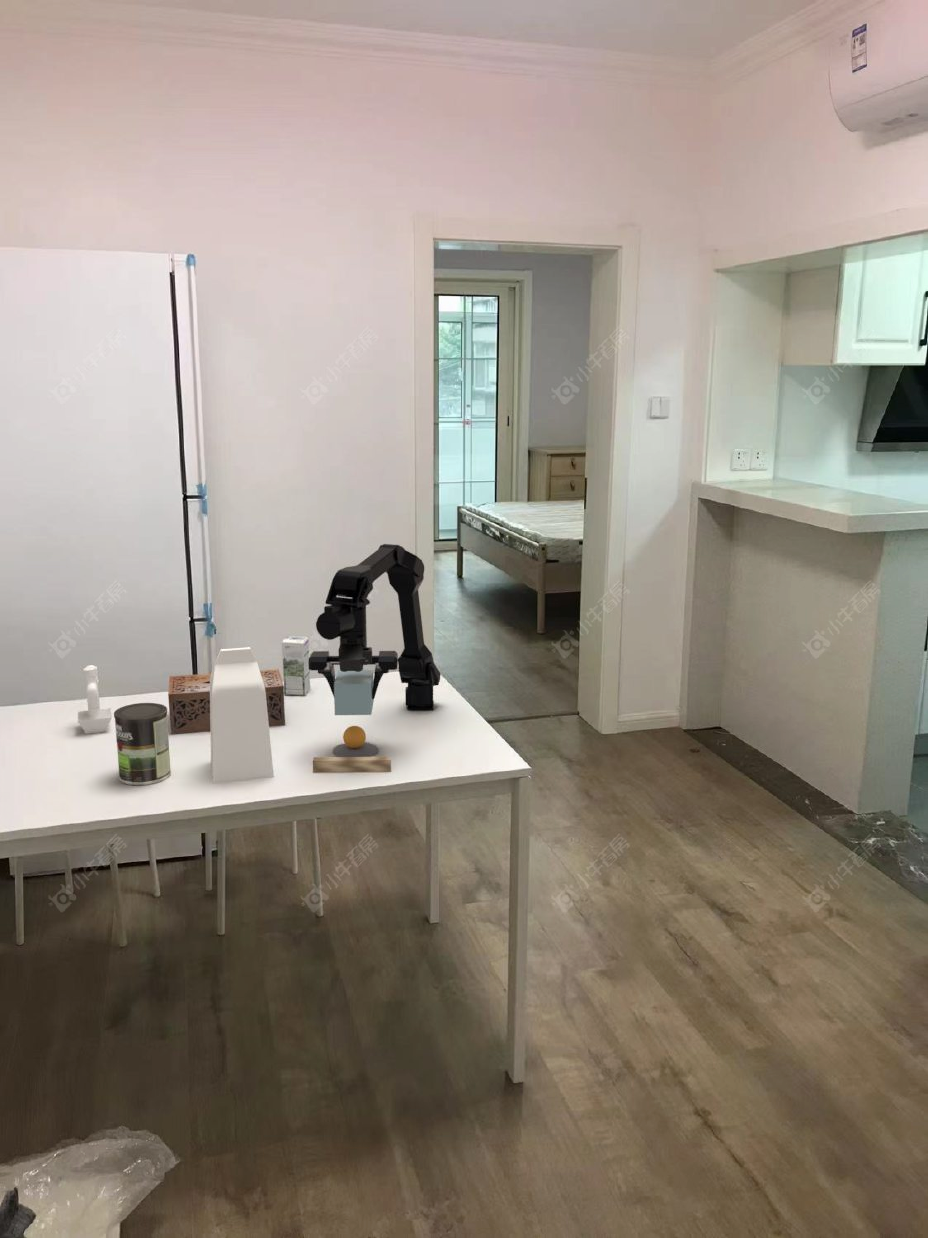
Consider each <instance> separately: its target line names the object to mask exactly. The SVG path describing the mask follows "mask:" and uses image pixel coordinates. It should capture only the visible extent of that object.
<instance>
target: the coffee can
mask: <svg viewBox="0 0 928 1238" xmlns="http://www.w3.org/2000/svg"><path fill="white" fill-rule="evenodd" d="M113 717H114V721H115V722H114V724H115V736H116V748H117V750H116V751H117V762H118V763H117V764H118V775H119V776H118V780H119V781H120V782H121V783H123V784H126V785H129V786H147V785H154V784H157V783H160V782H163V781H165V780H167V779H168V778H170V776H171V774H172V771H171V759H170V758H171V757H170V743H169V741H170V740H169V728H168V727H169V726H168V724H169V722H168V707H167V706H166V705H164V704H162V703H155V702H138V703H132V704H128V705H124V706H121V707H119V708H117V709H116V710H115V711H114V712H113Z"/></svg>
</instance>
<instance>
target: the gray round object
mask: <svg viewBox="0 0 928 1238" xmlns="http://www.w3.org/2000/svg"><path fill="white" fill-rule="evenodd" d="M379 751H380V749H379V747H378V745H377V744H373V743H370V742H366V741H365V743H364V744H363V745H362V746H361V747H359V748H356V749H353V748H350V747H348V746H347V745H346V744H345V743H344V742H343V743H341V744H338V745H336V746H335V747H334V748H333V749H332V753H333V756H334V757H375V755H377V754H379Z"/></svg>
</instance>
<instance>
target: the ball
mask: <svg viewBox="0 0 928 1238" xmlns="http://www.w3.org/2000/svg"><path fill="white" fill-rule="evenodd" d="M342 735H343V736H342V740H343V744H344V743H345V744H346V745H347V746H348V747H350V748H353V749H356V748H359V747H361V746H362V745H363V744H364V743H365V742H366V739H367V735H366V731H365V730H364V728H362V727H361V726H359V725H358V726H357V725H351V726H348V727H347V728H346V729H345V730H344V732H343V734H342Z"/></svg>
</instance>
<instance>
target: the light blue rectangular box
mask: <svg viewBox="0 0 928 1238" xmlns="http://www.w3.org/2000/svg"><path fill="white" fill-rule="evenodd" d="M373 682H374V669H363V670H362V671H360V672H356V671H347V672H342V671H340V669H339V670H337V673H336V675H335V683H334V696H333V698H334V699H333V700H334V703H333V705H334V716H372V713H373V708H374V707H373V706H374V702H375V701H374V700H375V698H374V699H372V690H373Z"/></svg>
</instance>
